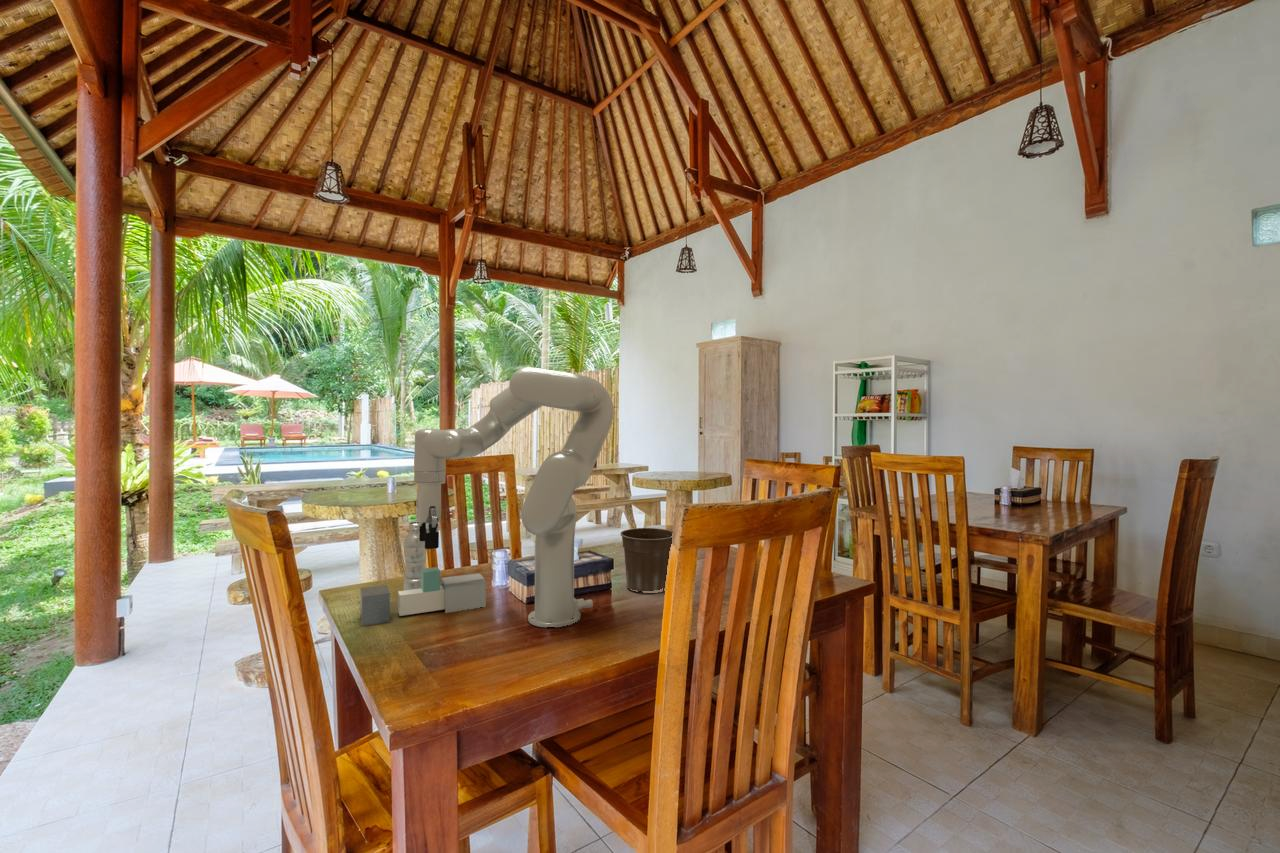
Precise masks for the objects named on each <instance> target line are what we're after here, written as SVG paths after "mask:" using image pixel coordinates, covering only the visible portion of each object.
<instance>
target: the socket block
mask: <svg viewBox="0 0 1280 853" xmlns="http://www.w3.org/2000/svg"><path fill="white" fill-rule="evenodd" d="M359 593H360V621H361V626H362V627H367V626H372V625H373V624H374V625H380V623H381V624H386V623H385V622H387V623H390V622H391V620H390V619H391V618H390V617H391V611H390V610H391V606H390V605H391V603H390V602H391V599H390V598H391V594H390V590H389V587H388V585H387V584H382V585H375V586H366V587H360V592H359ZM374 625H373V626H374Z"/></svg>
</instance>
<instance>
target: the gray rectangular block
mask: <svg viewBox="0 0 1280 853" xmlns="http://www.w3.org/2000/svg"><path fill="white" fill-rule="evenodd" d="M440 586H444V587H445V609H444V613H445V614H449V613H454V612H456V613H457V612H462V610H463V611H469V610H473V609H475V608H476V609H481V608H480V607H483V608H486V606H487V605H486V604H487V600H486V599H487V595H486V594H487V592H486V591H487V588H486V587H487V579H486V578H485V577H484V576H483V574H481V573H480V572H478V573H471V574H468V573H467V574H461V575H453V576H446V577H445V576H443V577H440ZM468 609H469V610H468ZM476 609H475V610H476Z"/></svg>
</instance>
